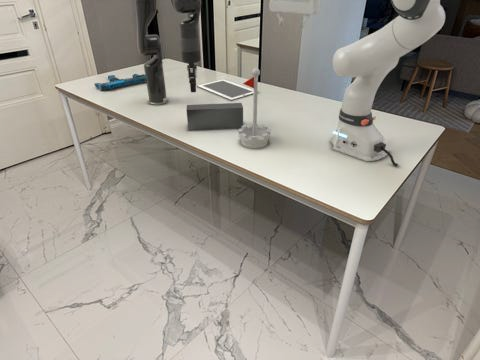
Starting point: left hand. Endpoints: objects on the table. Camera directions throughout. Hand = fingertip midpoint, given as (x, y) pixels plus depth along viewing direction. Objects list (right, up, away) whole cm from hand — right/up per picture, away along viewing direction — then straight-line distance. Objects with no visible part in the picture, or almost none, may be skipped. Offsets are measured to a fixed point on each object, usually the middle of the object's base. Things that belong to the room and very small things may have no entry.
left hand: (193, 88), depth 144 cm
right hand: (+40, +20, -14) cm, 47 cm away
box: (+9, -14, +10) cm, 20 cm away
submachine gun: (-52, +21, +65) cm, 86 cm away
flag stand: (+26, -23, -3) cm, 35 cm away
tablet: (+12, +14, +54) cm, 57 cm away
